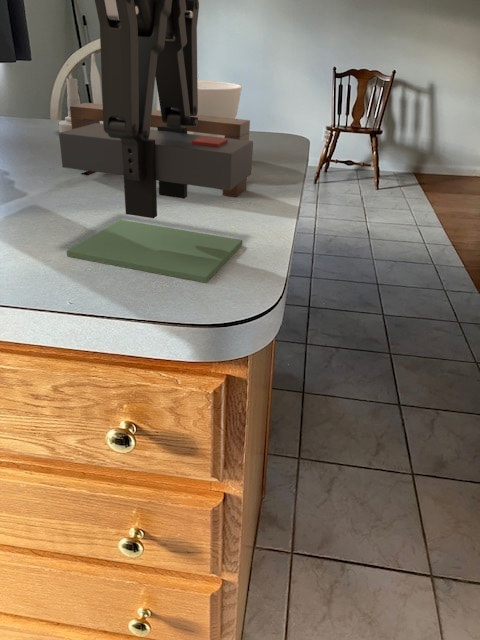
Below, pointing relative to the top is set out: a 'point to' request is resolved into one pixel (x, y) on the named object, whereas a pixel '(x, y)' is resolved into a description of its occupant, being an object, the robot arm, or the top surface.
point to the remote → (163, 156)
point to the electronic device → (70, 104)
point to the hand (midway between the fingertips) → (158, 204)
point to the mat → (158, 250)
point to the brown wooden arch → (206, 124)
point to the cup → (217, 101)
